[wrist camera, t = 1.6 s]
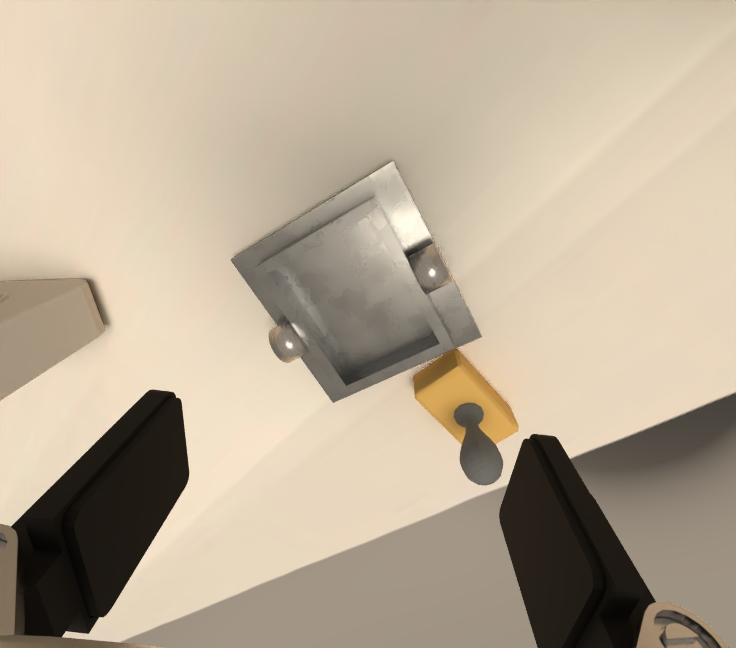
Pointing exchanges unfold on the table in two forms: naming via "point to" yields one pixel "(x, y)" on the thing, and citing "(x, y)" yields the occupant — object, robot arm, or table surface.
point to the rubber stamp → (467, 413)
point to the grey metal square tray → (358, 287)
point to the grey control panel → (42, 327)
